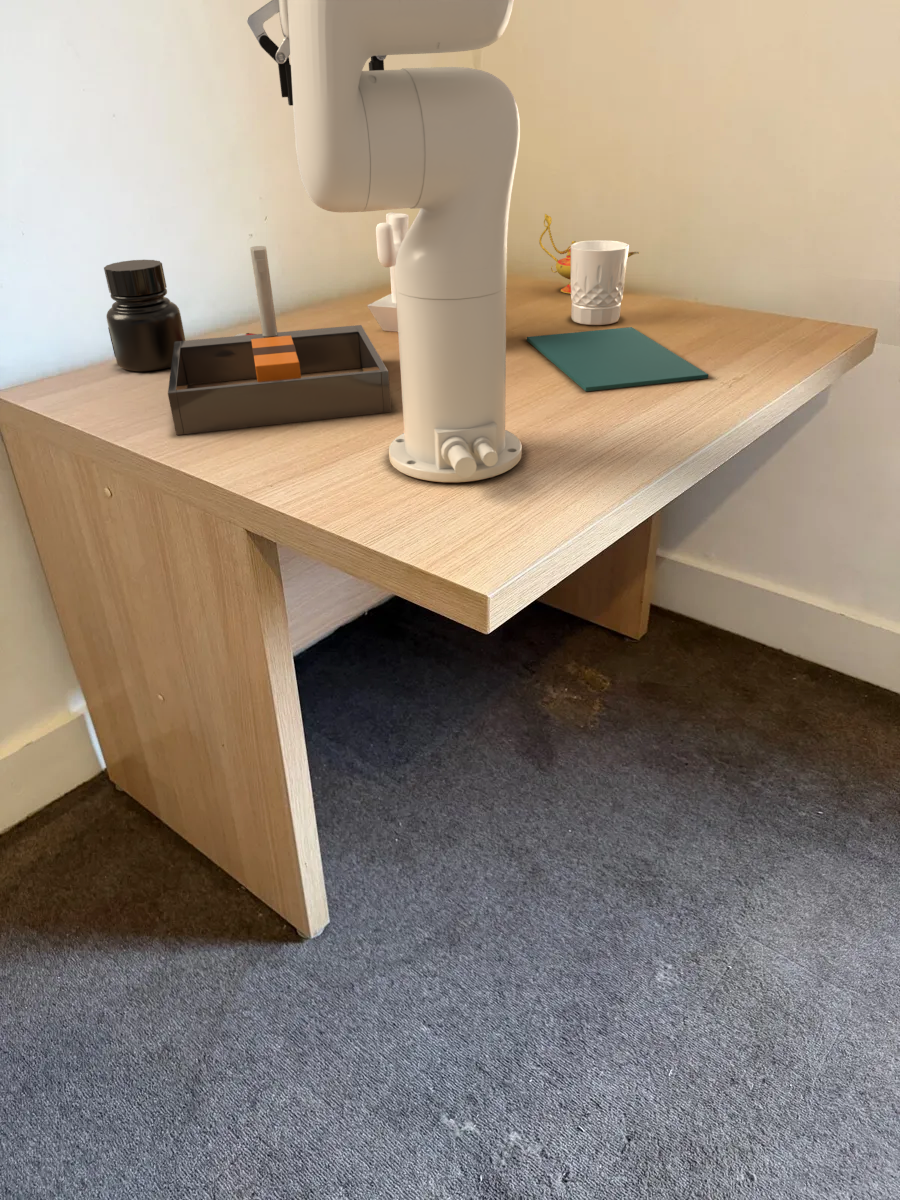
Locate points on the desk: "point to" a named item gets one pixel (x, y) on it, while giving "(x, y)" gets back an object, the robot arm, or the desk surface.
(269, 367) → the orange striped block
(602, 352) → the mat
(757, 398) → the desk surface
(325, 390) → the sink basin
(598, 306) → the white cup
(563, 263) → the magic lamp
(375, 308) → the figurine
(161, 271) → the ink bottle
